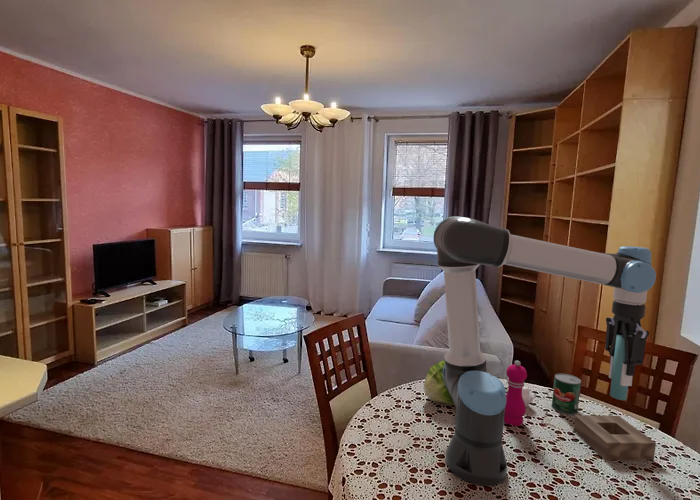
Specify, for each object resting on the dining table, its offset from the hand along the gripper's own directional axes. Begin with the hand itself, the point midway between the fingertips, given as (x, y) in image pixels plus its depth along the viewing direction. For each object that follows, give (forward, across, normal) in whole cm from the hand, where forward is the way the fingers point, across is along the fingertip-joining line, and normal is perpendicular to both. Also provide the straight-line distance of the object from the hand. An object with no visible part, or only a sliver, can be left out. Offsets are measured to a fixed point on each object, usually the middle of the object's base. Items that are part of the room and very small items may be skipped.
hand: (619, 381), depth 112 cm
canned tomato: (+20, +20, +2) cm, 28 cm away
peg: (+5, 0, 0) cm, 5 cm away
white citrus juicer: (+19, +22, +16) cm, 34 cm away
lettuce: (+19, +24, +40) cm, 51 cm away
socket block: (+19, 0, 0) cm, 19 cm away
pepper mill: (+19, +12, +24) cm, 33 cm away
